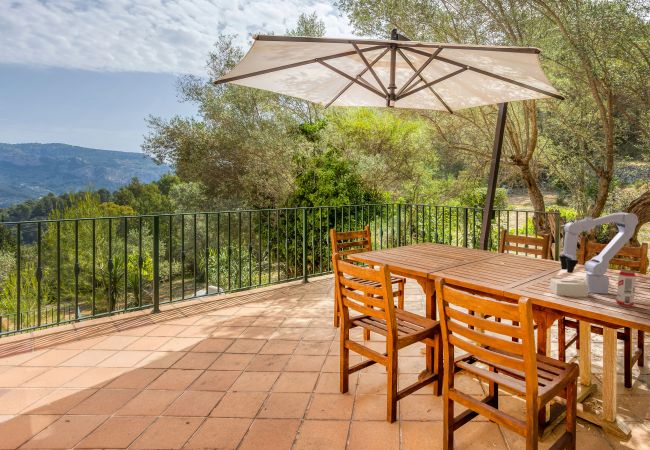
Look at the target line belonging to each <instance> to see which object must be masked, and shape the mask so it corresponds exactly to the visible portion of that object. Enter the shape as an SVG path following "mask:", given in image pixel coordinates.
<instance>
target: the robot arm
mask: <svg viewBox="0 0 650 450" xmlns="http://www.w3.org/2000/svg"><path fill="white" fill-rule="evenodd" d="M609 223H615V225H616V226H617V228H618V233H617V234H616V235H615V236H613V238H612V239H611V241H609V243H608V244H607V245H606V246H605V247H604V248H603V249H602V250H601V252H600V253H598V255H596V256H593V257H592V258H591V259H590V260H587V261H586V262H585V263H584V266H583V268H584V270H585V271H586V273H585V274H586V275H585V283H586V284H588V285H589V288H588V294H607V295H609V294H610V292H609V290H610V289H609V287H610V278H609V276H608V275H607V274H606V273H607V270H608V268H609V267H610V261H611V260H612V258H614V256H616V254H618V252H619V251H620V250H621V249H622V248H623V247H624V246H625V245H626V244H627V242H628V241H629V240H630V239H631V238H632V237H633V236H634V234H635V229H636V226H637V225H638V224H639V219H638V216H637V214H636V213H632V212H624V211H619V212H612V213H610V214H606V215H603V216H600V217H596V218H592V217H584V218H583V219H580V220H574V222H572V221H569V222H567V223H565V225H564V226H563V231H564V233H565V234H564V238H563V239H564V241H563V247H562V251H561V252H559V254H560V255H558V258H559V260H560V261H559V262H560V267H561V270H564V271H566V273H568V274H573V272H574V270H575V267H577V264H578V263H579V261H580V260H578V259H577V258H578V256H577V254H576V253H577V247H578V246H577V245H578V239H579V234H580V233H582V232H586V231H589V230H593V229H595V227H596V226H600V225H603V224H604V225H605V224H609ZM605 274H606V275H605Z"/></svg>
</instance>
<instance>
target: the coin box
mask: <svg viewBox="0 0 650 450" xmlns="http://www.w3.org/2000/svg"><path fill="white" fill-rule="evenodd" d="M549 287H550V288H549V291H551V292H552V293H553V294H555V295H556V296H564V295H565V296H567V297H584V298H588V297H589V293H588V288H589V285H588V284H586V282H584V281H582V280H580V279H579V280H578V279H565V278H564V279H562V278H550V286H549ZM565 296H564V297H565Z"/></svg>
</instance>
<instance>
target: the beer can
mask: <svg viewBox="0 0 650 450" xmlns="http://www.w3.org/2000/svg"><path fill="white" fill-rule="evenodd" d="M636 280H637V276H636V273H635V271H633V270H627V269H626V270H625V269H621V270H620V272H619V273H618V279H617V291H616V300H615V301H616V304H617V305H618V306H620V307H625V308H632V307H634V306H635V305H634V303H635V294H636V292H635V291H636Z"/></svg>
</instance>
